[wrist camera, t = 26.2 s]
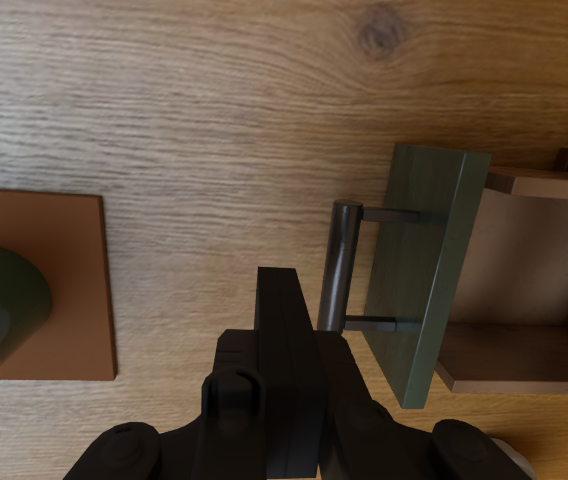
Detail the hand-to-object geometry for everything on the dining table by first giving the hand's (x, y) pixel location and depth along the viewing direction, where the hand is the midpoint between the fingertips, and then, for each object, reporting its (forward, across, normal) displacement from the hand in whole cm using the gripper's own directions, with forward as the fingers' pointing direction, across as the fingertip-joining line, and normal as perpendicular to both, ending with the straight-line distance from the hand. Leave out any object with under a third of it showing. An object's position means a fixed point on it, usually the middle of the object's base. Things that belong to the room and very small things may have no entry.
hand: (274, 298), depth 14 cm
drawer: (+7, +12, 0) cm, 14 cm away
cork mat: (+8, -16, -5) cm, 19 cm away
